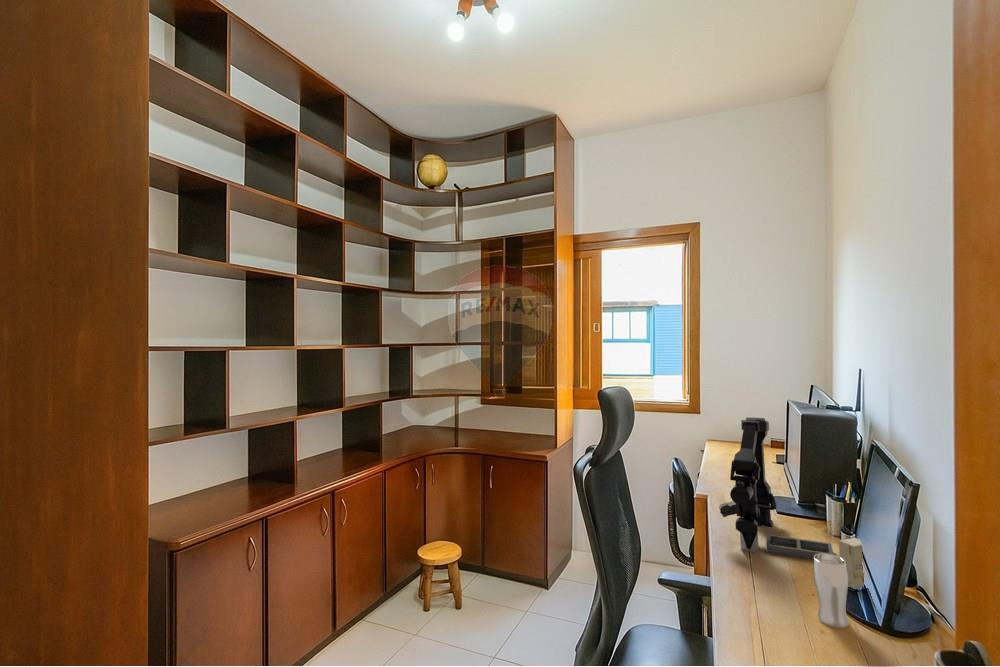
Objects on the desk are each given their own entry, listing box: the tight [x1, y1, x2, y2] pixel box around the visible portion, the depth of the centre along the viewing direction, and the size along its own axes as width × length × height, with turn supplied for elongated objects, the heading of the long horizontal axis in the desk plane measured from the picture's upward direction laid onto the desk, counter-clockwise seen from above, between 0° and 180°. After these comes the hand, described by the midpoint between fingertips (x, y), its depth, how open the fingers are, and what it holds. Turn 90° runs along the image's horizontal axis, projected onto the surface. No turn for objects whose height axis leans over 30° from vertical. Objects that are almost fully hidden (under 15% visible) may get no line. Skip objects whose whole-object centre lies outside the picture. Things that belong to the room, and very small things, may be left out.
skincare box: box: [838, 537, 864, 589], centre depth 132 cm, size 6×4×12 cm
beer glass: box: [812, 552, 850, 629], centre depth 117 cm, size 7×7×15 cm
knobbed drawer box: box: [739, 531, 760, 553], centre depth 159 cm, size 5×5×7 cm
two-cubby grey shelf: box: [765, 533, 834, 561], centre depth 154 cm, size 10×18×2 cm, turn 59°
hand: (749, 543), depth 159 cm, fingers open, 9 cm apart
